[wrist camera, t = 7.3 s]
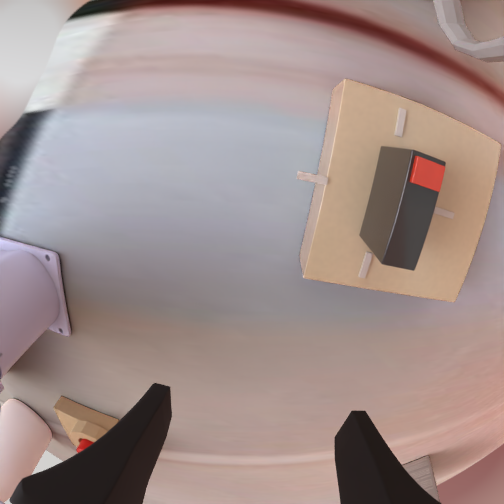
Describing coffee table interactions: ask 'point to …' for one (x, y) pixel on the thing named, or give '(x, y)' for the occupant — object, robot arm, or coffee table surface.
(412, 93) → the coffee table surface
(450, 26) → the mug
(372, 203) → the dark upright block
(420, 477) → the cosmetic box
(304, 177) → the tan slotted base
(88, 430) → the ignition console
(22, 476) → the wine bottle
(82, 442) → the button
